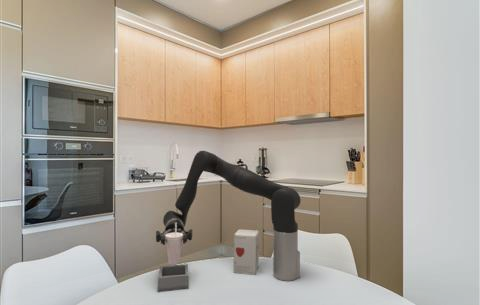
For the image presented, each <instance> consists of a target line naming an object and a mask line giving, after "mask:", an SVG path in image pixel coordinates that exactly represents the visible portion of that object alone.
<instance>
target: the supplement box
mask: <svg viewBox="0 0 480 305" xmlns="http://www.w3.org/2000/svg"><path fill="white" fill-rule="evenodd" d="M233 235H234V236H233V273H234V274H235V273H237V274H245V275H253V276H256V275H257V273H258V269H259V264H260V263H259V260H260V259H259V258H260V256H259V255H260V254H259V253H260V252H259V251H260V230H253V229H241V228H239V229H238V230H237V231H236V232H234V234H233Z"/></svg>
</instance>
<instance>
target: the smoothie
mask: <svg viewBox="0 0 480 305" xmlns="http://www.w3.org/2000/svg"><path fill="white" fill-rule="evenodd" d="M182 238H183V234H182V233H178V232H177V222H176V223H175V232H174V233H168V234H166V235H165V239H166V241H165V244H166V253H167V261H168V262H167V263H168V264H169V265H178V264H179V263H180V260H181V259H180V258H181V251H182V245H183V244H182V243H183V240H182Z"/></svg>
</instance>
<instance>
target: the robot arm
mask: <svg viewBox="0 0 480 305" xmlns="http://www.w3.org/2000/svg"><path fill="white" fill-rule="evenodd" d="M203 172H206V173H210V174H213V175H216V176H219V177H220V178H223V179H224V180H225V181H226V182H227V183H228V184H229V185H231V186H232V187H234V188H236V189H238V190H240V191H242V192H244V193H248V194H251V195H255V196H259V197H263V198H266V199H267V200H270V201H271V202H270V211H271V214H270V215H271V223H272V227H273V231H272V232H273V234H272V235H273V247H272V248H273V253H272V254H273V256H272V257H273V258H272V261H273V266H272V268H273V269H272V272H273V274H272V275H273V276H274V278H276V279H278V280H281V281H288V282H289V281H295V280H297V279H299V278H301V251H299V250H298V249H299V248H298V247H299V245H298V244H299V241H298V240H299V239H298V238H299V237H298V234H299V232H298V231H299V228H298V227H299V226H298V223H297V222H296V218H295V215H296V214H295V210H296V209H297V208H298V207H299V206H300V204H301V197H300V194H299V193H298V191H297V190H295V189H294V188H292V187H289V186H285V185H283V184H279V183H277V182H273V181H271V180H269V179H268V178H266V177H265V176H262V175H260V174H258V173H256V172H254V171H252V170H250V169H248V168H245V167H243V166H240V165H237V164H235V163H231V162H227V161H226V160H224V159H222V158H220V157H219V156H217V155H216V154H214V153H212V152H209V151H206V150H199V151H198V152H196V154H195V155H194V158H193V159H192V162H191V165H190V169H189V171H188V174H187V177H186V180H185V183H184V185H183V187H182V190H181V192H180V194H179V196H178V197H177V199H176V201H175V205H174V206H175V208H176V209H177V210H178V211H180V212H181V214H180V213H178V212H176V211H174V210H168V211H166V213H165V214H164V216H163V219H162V222H163V223H162V224H163V225H164V227H165V228H164V231H163V232H161V231H160V230H155V242H156V243H159V242H160V244H162V245H163V246H165V244H166V239H165V235H166V234H168V233H174V232H175V223H176V222H177V232H178V233H182V234H183V238H182V243H183V244H186V243H188V241H192V240H193V229H189V230H187V231H186V230H185V226H186V223H187V218H188V214H189V211H190V209H191V207H192V204H193V203H194V201H195V200H196V199H195V198H196V197H197V192H198V191H197V190H198V182H199V180H200V177H201V175H202V174H203ZM183 244H182V245H183Z"/></svg>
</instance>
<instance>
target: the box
mask: <svg viewBox="0 0 480 305" xmlns="http://www.w3.org/2000/svg"><path fill="white" fill-rule="evenodd" d="M188 265H189V264H186V263H185V264H172V265H164V266H163V265H161V266H159V270H158V277H157V292H158V293H160V292H161V293H162V292H170V291H182V290H189V287H190V286H189V284H190V283H189V281H190V280H189V279H190V275H189V266H188Z"/></svg>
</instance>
